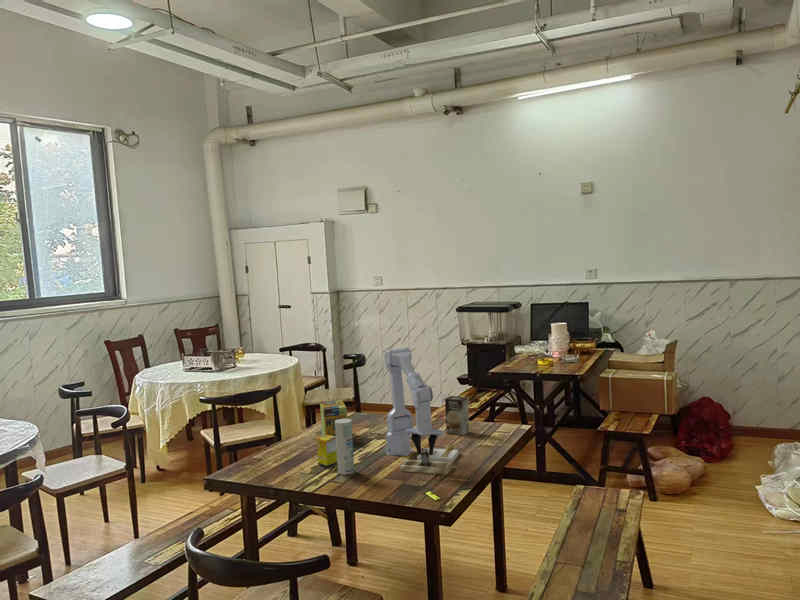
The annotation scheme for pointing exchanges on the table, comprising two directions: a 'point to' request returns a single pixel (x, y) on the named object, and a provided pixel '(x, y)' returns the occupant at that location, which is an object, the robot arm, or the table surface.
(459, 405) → the coffee box
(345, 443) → the spray can
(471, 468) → the table surface
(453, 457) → the socket block
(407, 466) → the rack
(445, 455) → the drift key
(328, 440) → the supplement box
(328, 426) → the protein box
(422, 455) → the stepped metal cylinder
